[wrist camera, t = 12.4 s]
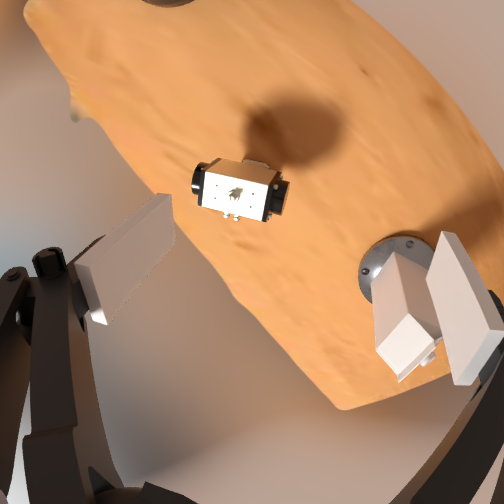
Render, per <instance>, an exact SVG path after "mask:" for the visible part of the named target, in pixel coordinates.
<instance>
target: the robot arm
mask: <svg viewBox="0 0 504 504" xmlns="http://www.w3.org/2000/svg"><path fill="white" fill-rule="evenodd" d="M142 1H144V2H146V3H149V4H152V5H155V6H159V7H176V6H181V5H184V4H187V3H190V2H192V1H194V0H142ZM175 243H176V239H175V229H174V219H173V208H172V197H171V194H162V193H158V194H156V195H155V196H154V197H152V198H151V199H150V200H148V201H147V202H146V203H145V204H143V205H142V206H141V207H140V208H139V209H137V210H136V211H134V212H133V213H132V214H131V215H130V216H128V217H127V218H126V219H125V220H123V221H122V222H121V223H120V224H119V225H117V226H116V227H115V228H114V229H112V230H111V231H110V232H109V233H108V234H107V235H104V236H102V237H100V238H98V239H96V240H95V241H93V242H92V243H91V244H90V245H89V247H86V248H85V249H84V250H83V252H81V253H79V255H77V256H76V257H75V258H74V259H73V260H72V261H70V262H69V263H68V264H67V265H66V262H65V259H64V256H63V252H62V249H60V248H59V247H50V248H46V249H43V250H41V251H40V252H38V253H37V254H36V255H35V256H34V257H33V259H32V262H33V265H34V268H35V270H36V273H37V276H38V277H29V276H28V273H27V270H26V268H24V267H13V268H12V269H9V270H8V271H7V272H6V273H4V275H3V276H2V277H1V279H0V504H8V502H7V499H6V498H7V495H8V492H9V488H10V484H11V480H12V474H13V467H14V460H15V452H16V446H17V439H18V433H19V427H20V422H21V417H22V412H23V407H24V403H25V398H26V394H27V390H28V385H29V381H30V406H31V407H30V408H31V427H32V429H31V434H30V435H25V436H24V438H23V443H22V449H23V459H24V469H25V476H26V484H27V490H28V496H29V502H30V504H197V503H196V502H194V501H192V500H191V499H189V498H187V497H185V496H184V495H181V494H178V493H175V492H173V491H170V490H167V489H164V488H161V487H158V486H156V485H153V484H151V483H148V482H145V483H144V486H143V488H139V487H124V485H123V483H122V481H121V479H120V477H119V475H118V473H117V471H116V470H115V467H114V465H113V462H112V458H111V454H110V451H109V447H108V443H107V439H106V435H105V431H104V427H103V422H102V418H101V413H100V408H99V403H98V399H97V393H96V388H95V382H94V376H93V370H92V363H91V356H90V349H89V341H88V332H87V323H86V320H85V317H84V315H85V313H86V312H87V311H88V310H90V313H91V316H92V318H93V321H96V322H99V323H102V324H105V325H108V324H109V323H110V322H111V320H112V319H113V318H114V317H115V315H116V314H117V313H118V312H119V310H120V309H121V308H122V307H123V305H124V304H125V303H126V302H127V300H128V299H129V298H130V297H131V295H132V294H133V293H134V292H135V291H136V289H137V288H138V287H139V286H140V284H141V283H142V282H143V281H144V280H145V278H146V277H147V276H148V274H149V273H150V272H151V271H152V270H153V269H154V268H155V266H156V265H157V264H158V263H159V262H160V260H161V259H162V258H163V257H164V256H165V255H166V253H167V252H168V251H169V250H170V249H171V248H172V246H173V245H174V244H175ZM426 282H427V285H428V288H429V291H430V294H431V297H432V300H433V304H434V307H435V310H436V314H437V317H438V321H439V324H440V328H441V331H442V335H443V339H444V343H445V347H446V351H447V355H448V359H449V363H450V368H451V372H452V377H453V382H454V385H471V384H472V383H473V381H474V380H475V379H476V377H477V376H478V375H479V377H480V382H481V383H480V385H479V386H478V387H477V389H476V390H475V391H474V392H473V393H472V395H471V396H470V397H469V399H468V400H467V401H468V403H467V405H466V406H465V408H464V410H463V411H462V413H461V414H460V416H459V417H458V419H457V420H456V422H455V423H454V425H453V426H452V428H451V429H450V431H449V432H448V434H447V435H446V436H445V438H444V439H443V440H442V442H441V443H440V444H439V446H438V447H437V448H436V450H435V451H434V452H433V454H432V455H431V456H430V458H429V459H428V460H427V461H426V463H425V464H424V465H423V466H422V467H421V469H420V470H419V471H418V472H417V473H416V475H415V476H414V477H413V478H412V479H411V481H410V482H409V483H408V484H407V485H406V486H405V487H404V489H402V491H401V492H400V493H399V494H398V495H397V496H396V497H395V498H394V499H393V500H392V501H391V502H390V503H389V504H469V503H470V502H471V500H472V498H473V497H474V495H475V494H476V492H477V491H478V489H479V487H480V486H481V484H482V482H483V480H484V479H485V477H486V476H487V474H488V472H489V470H490V468H491V467H492V465H493V463H494V461H495V459H496V457H497V455H498V453H499V451H500V450H501V448H502V445H503V443H504V309H503V308H504V307H503V305H502V303H501V301H500V299H499V298H498V297H497V295H496V294H495V293H494V292H493V291H492V290H487V288H486V286H485V284H484V282H483V280H482V278H481V277H480V275H479V273H478V271H477V269H476V267H475V266H474V264H473V262H472V260H471V259H470V257H469V255H468V254H467V252H466V250H465V248H464V247H463V245H462V243H461V242H460V240H459V239H458V237H457V235H456V234H455V233H452V232H447V231H441V234H440V237H439V241H438V244H437V247H436V250H435V253H434V256H433V259H432V262H431V265H430V268H429V271H428V274H427V276H426ZM16 316H17V318H18V321H17V322H16ZM490 504H504V459H503V463H502V467H501V471H500V474H499V478H498V481H497V484H496V487H495V490H494V493H493V496H492V499H491V502H490Z"/></svg>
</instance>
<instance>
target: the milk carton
mask: <svg viewBox="0 0 504 504" xmlns="http://www.w3.org/2000/svg"><path fill="white" fill-rule="evenodd" d="M427 274H428V270H427V269H426V268H424V267H422V266H420V265H419V264H417V263H415V262H413V261H411V260H409V259H408V258H406V257H404V256H402V255H400V254H398V253H396V252H394V251H393V252H392V254H391V255H390V257H389V258H388V260H387V261H386V263H385V264H384V265H383V267H382V268H381V270H380V271H379V273H378V274H377V275H376V277H375V278H374V280H373V281H372V283H371V293H372V303H373V315H374V328H375V344H376V351H377V353H378V354H379V355H380V356H381V357H382V358H383V359H384V361H385V362H386V363H387V364H388V365H389V366H390V368H391V369H392V370H393V371H394V372H395V373H396V374H397V376H398V382H400V381H401V380H403V379H404V378H405V377H406V376H407V375H408V374H409V373H410V372H411V371H412V370H413V369H415V368H416V367H417V366H418V365H419V364H420V363H421V365H422V366H423V367H424V366H426V365H427V364H428V363H430V362H431V361H432V360H433V359H434V358H435V357H436V354H435V353H434V352H433V350H434V349H435V348H436V346H437V345H438V344H439V342H440V341H441V340H442V339H443V335H442V331H441V328H440V324H439V321H438V317H437V314H436V310H435V307H434V304H433V300H432V297H431V294H430V291H429V288H428V285H427V282H426V276H427Z"/></svg>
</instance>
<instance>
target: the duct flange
mask: <svg viewBox="0 0 504 504" xmlns="http://www.w3.org/2000/svg"><path fill="white" fill-rule="evenodd" d="M393 251H394V252H396V253H398V254H400V255H402V256H404V257H406V258H408V259H409V260H411V261H413V262H415V263H417V264H419V265H420V266H422V267H424V268H426V269H427V270H428V271H429V268H430V265H431V262H432V259H433V256H434V253H435V252H434V250H433V249H432V247H431V246H430V245H429V244H428V243H426V242H425V241H424V240H422V239H420V238H418V237H415V236H411V235H394V236H390V237H387V238H384V239H382V240H380V241H378V242H377V243H376V244H374V245H373V246H372V247H371V248H370V249H369V250H368V251H367V252H366V253H365V255H364V256H363V258H362V260H361V263H360V266H359V271H358V279H359V286H360V289H361V291H362V293H363V295H364V296H365V298H366V299H367V300H368V301H369V302H370V303H372V293H371V283H372V281H373V280H374V278H375V277H376V275H377V274H378V273H379V271H380V270H381V268H382V267H383V265H384V264H385V263H386V261H387V260H388V258H389V257H390V255H391V254H392V252H393ZM372 304H373V303H372Z"/></svg>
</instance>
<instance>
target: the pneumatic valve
mask: <svg viewBox="0 0 504 504" xmlns="http://www.w3.org/2000/svg"><path fill="white" fill-rule="evenodd" d="M281 174H282V172H279V171H275V170H271V169H269V165H267V164H266V163H262V162H258V161H253V160H249V159H245V160H243V163H240V162H235V161H230V160H226V159H221V158H217V159H216V160H213V161H212V163H210V164H209V163H204V162H200V163H199V164H198V165H197V167H196V169H195V171H194V174H193V178H192V185H191V187H192V192H193V194H195V195H198V205H199V206H204V207H208V208H212V209H216V210H220V211H224V214H223V217H224V218H229V217H230V215H229V214H230V213H232V214H234V217H233V219H234V220H236V221H239V220H240V216H244V217H248V218H252V219H256V220H259V221H263V222H267V220H269V218H271V217H272V213H273V214H277V215H282V213H283V210H284V207H285V203H286V200H287V196H288V191H289V186H290V182H288V181H284V180H282V179H283V176H281Z"/></svg>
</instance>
